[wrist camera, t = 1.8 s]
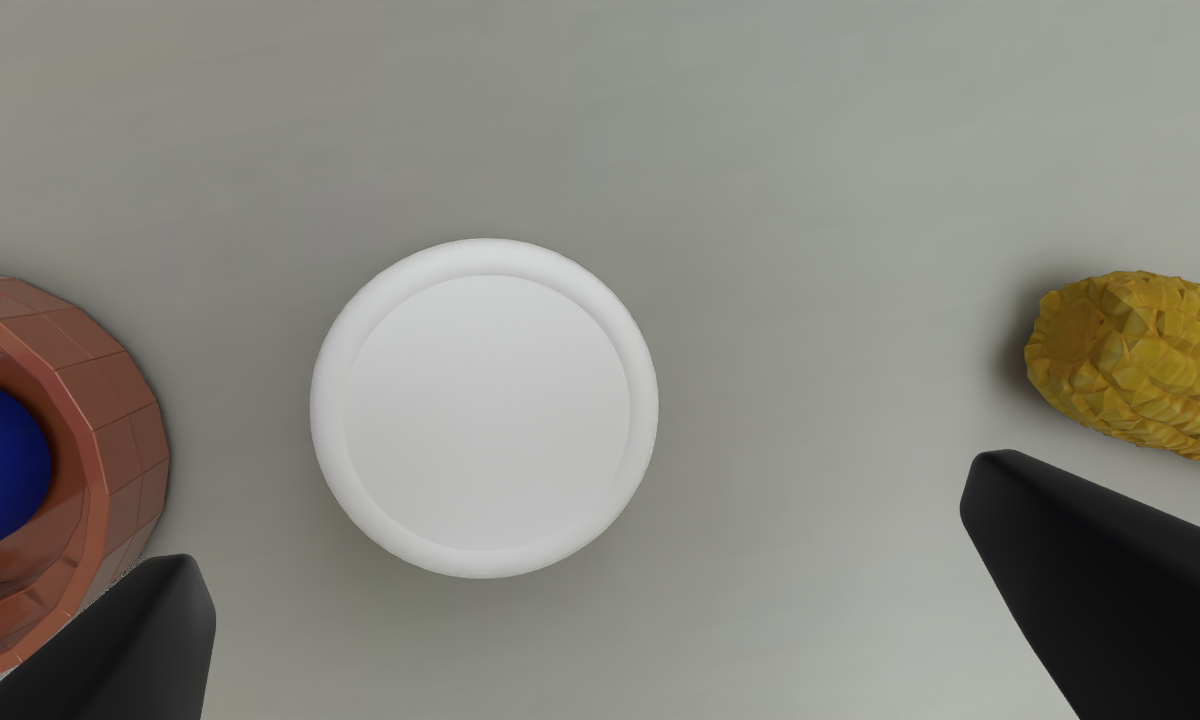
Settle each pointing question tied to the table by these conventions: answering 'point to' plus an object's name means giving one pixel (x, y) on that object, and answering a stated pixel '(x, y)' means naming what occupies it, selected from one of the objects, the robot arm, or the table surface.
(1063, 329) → the food
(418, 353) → the coaster
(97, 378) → the bowl
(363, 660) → the table surface
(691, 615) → the table surface
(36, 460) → the beverage can
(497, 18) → the table surface
